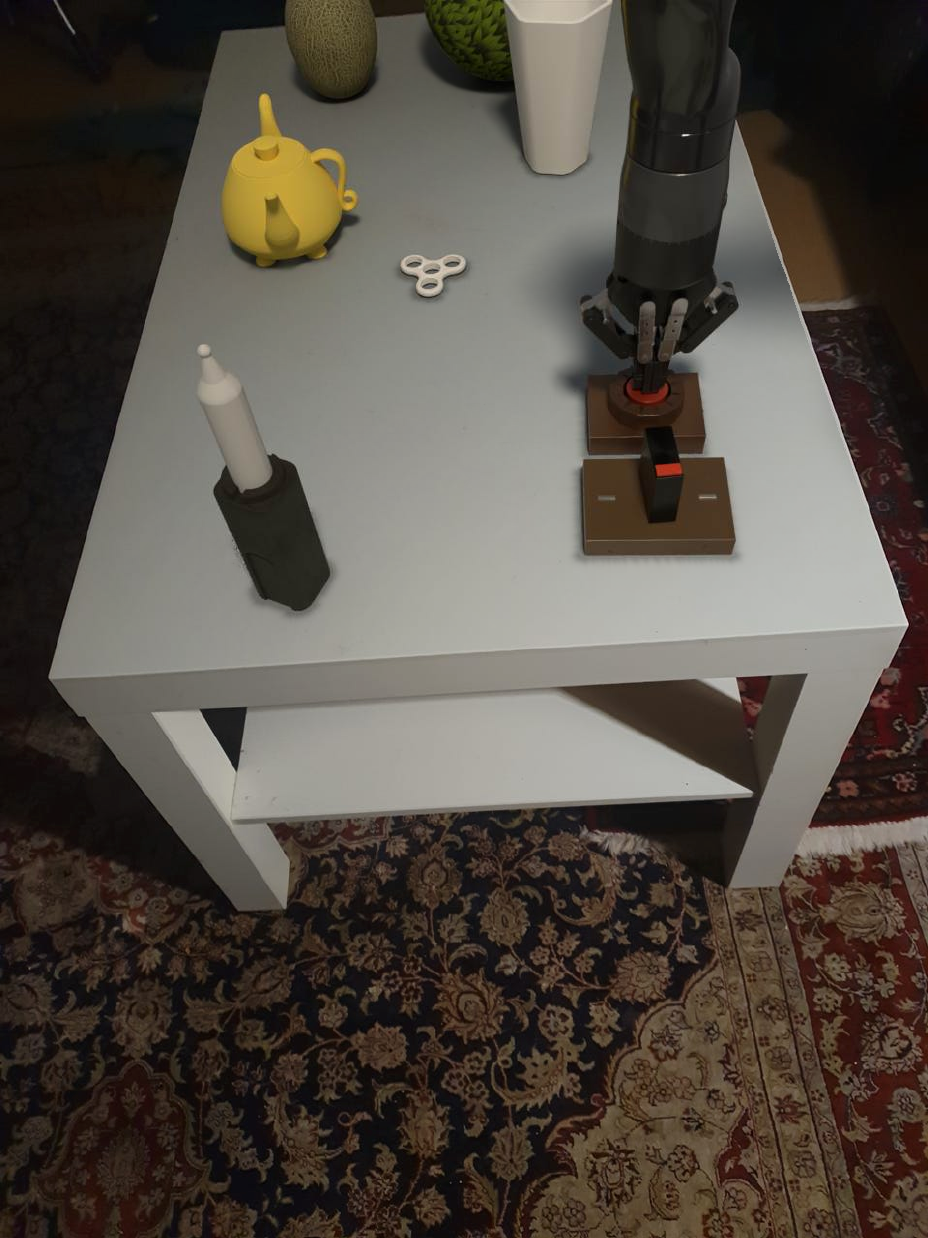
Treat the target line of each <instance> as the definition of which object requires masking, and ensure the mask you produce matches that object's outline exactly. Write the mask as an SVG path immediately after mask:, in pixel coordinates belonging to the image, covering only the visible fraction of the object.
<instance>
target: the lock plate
mask: <svg viewBox="0 0 928 1238" xmlns="http://www.w3.org/2000/svg"><path fill="white" fill-rule="evenodd" d="M679 458H680V462H681V466H682V470H683V474H684V480H683V485H682V490H681V495H680V501H679V506H678V511H677V516H676V521H674V522H662V523H651V524H650V523H649V521H648V516H647V511H646V507H645V502H644V497H643V493H642V488H641V483H640V478H639V467H640V459H641V457H638V458H637V457H634V458H633V457H632V458H584V459H582V470H581V471H582V473H581V475H582V477H581V478H582V510H583V511H582V512H583V514H582V515H583V545H584V549H583V551H584V556H698V555H700V556H704V555H705V556H709V555H711V556H713V555H715V556H717V555H719V556H721V555H722V556H724V555H726V556H727V555H731V556H732V554H733V551H734V548H735V544H736V540H737V538H736V531H735V523H734V517H733V510H732V503H731V496H730V489H729V483H728V474H727V469H726V467H727V466H726V462H725V461H726V460H725V457H724V456H711V457H710V456H709V457H707V456H706V457H679Z"/></svg>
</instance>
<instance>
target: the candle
mask: <svg viewBox="0 0 928 1238" xmlns="http://www.w3.org/2000/svg"><path fill="white" fill-rule="evenodd" d="M197 355H198V356H200V364H201V365H200V371H201V377H200V379H199V381H198V385H197V387H196V397H197V399H198V401H199V404H200V406H201V408H202V411H203V413H204V415H205V417H206V420H207V423H208V425H209V427H210V430H211V432H212V434H213V437H214V439H215V441H216V444H217V446H218V449H219V451H220V454H221V456H222V458H223V461H224V463H225V465H224V467H223V469H222V470H221V474H220V478H219V479H218V481H216V483H215V485H214V486H213V488H212V489H213V490H212V492H213V493H212V494H213V496H214V498H215V501H216V503H217V505H218V508H219V509H220V512H221V514H222V516H223V518H224V521H225V523H226V525H227V528H228V530H229V532H230V534H231V536H232V538H233V541H234V543H235V545H236V547H237V549H238V552H239V553H240V556H241V558H242V560H243V563H244V565H245V567H246V569H247V571H248V574H249V576H250V578H251V581H252V582H253V584H254V587H255V589H256V591H257V593H258V595H259V597H260V598H261V599H263V600H265V601H267V600H270V601H273V602H275V603H279V604H282V605H284V606H288V607H289V608H290V609H291V610H292V611H296V612H298V611H300V612H301V611H304V610H307V609H308V608H310V607H311V606H312V605H313V603H314V602H315V600H316V598H317V597H318V595H319V594H320V592H321V591H322V589H323V588H324V586H325V584H326V583H327V581H328V579H329V578H330V576H331V569H330V566H329V564H328V561H327V560H328V559H327V557H326V554H325V551H324V548H323V545H322V542H321V539H320V536H319V533H318V530H317V526H316V523H315V521H314V518H313V515H312V511H311V508H310V505H309V503H308V499H307V496H306V493H305V489H304V486H303V484H302V481H301V478H300V474H299V471H298V469H297V467H296V465H295V464H294V463H293V462H291V461H289V460H286V459H283V458H280V457H279V456H278V455H276V454H275V453H273V452H272V453H271V454H268V453H267V450H266V447H265V444H264V442H263V439H262V436H261V433H260V431H259V427H258V425H257V421H256V419H255V416H254V413H253V411H252V409H251V408H252V407H251V405H250V403H249V400H248V397H247V394H246V392H245V388H244V386H243V382H242V381H241V379H240V378H239V376H237V375H236V374H235V373H233V372H231V371H229V370H228V369H226V368H224V367H223V365H222V364H221V363H220V362H219V361H218V359H216V357H215V356H214V355H213V354H212V348H211V346H210V345H208V344H206V343H202V344H199V346H198V348H197Z"/></svg>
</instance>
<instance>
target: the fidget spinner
mask: <svg viewBox="0 0 928 1238" xmlns="http://www.w3.org/2000/svg"><path fill="white" fill-rule="evenodd" d="M415 262H416V263H419V264H420V265H418V266H416V267H411V266H408V265H409V264H411V263H415ZM451 262H455V263H458V265H456V266H453V267H452V266H446V265H447V264H448V263H451ZM466 266H467V262H466V259H465V258H464V257H463V256H461V255H459V254H455V253H454V254H453V253H452V254H447V255H445V256H443V257H442V258H439V259H434V260H432V259H427V258H425V256H424V255H421V254H410V255H407V256H405V257H403V259H402V260H401V261H400V269H401V271H402V272H403V273H404V274H406V275H410V276H414V277H417V278H418V280H417V281H416V283H415V284H416V285H415V289H416V292H417V293H418V295H420V296H423V297H428V298H429V297H430V298H431V297H434V296H437V295H439V294H441V292H442V291H443V289H444V282H443V281H444V279H445V278H447V277H448V276H451V275H452V276H453V275H457V274H460V273H462V272H463V271H464V270H465V269H466ZM430 270H437V272H435V273H426V272H427V271H430ZM427 284H435V285H436V286H435V287H433V288H430V289H428V288H424V286H425V285H427Z"/></svg>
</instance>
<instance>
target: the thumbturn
mask: <svg viewBox="0 0 928 1238" xmlns="http://www.w3.org/2000/svg"><path fill="white" fill-rule="evenodd" d="M640 458H641V459H640V467H639V478H640V483H641V488H642V493H643V497H644V502H645V507H646V511H647V516H648V521H649V523H650V524H651V523H662V522H674V521H676V516H677V511H678V506H679V501H680V495H681V490H682V485H683V480H684V474H683V470H682V466H681V462H680V458H681V457H680V454H678V449H677V445H676V441H675V437H674V433H673V429H672V426H660V427H649V428H645V429H644V436H643V444H642V451H641V454H640Z"/></svg>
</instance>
